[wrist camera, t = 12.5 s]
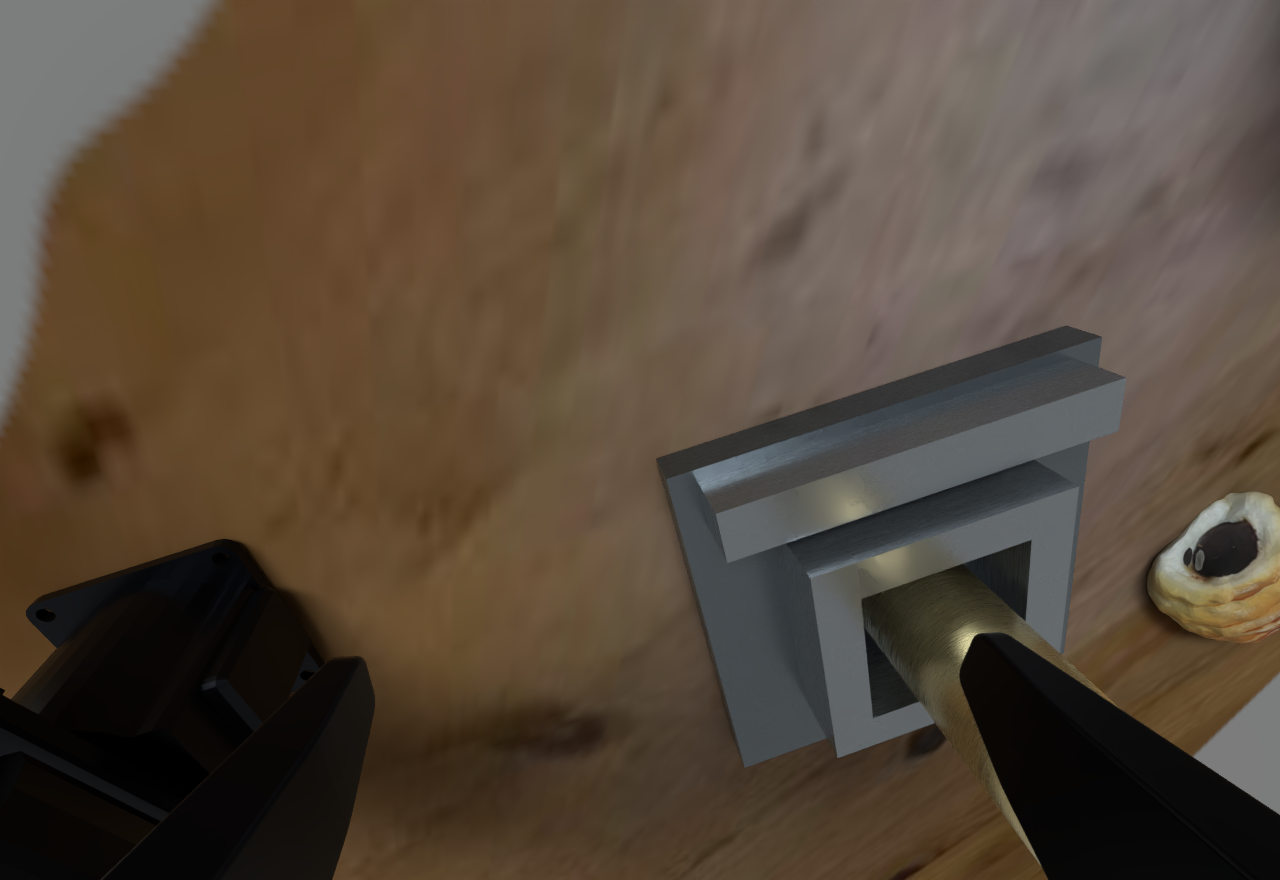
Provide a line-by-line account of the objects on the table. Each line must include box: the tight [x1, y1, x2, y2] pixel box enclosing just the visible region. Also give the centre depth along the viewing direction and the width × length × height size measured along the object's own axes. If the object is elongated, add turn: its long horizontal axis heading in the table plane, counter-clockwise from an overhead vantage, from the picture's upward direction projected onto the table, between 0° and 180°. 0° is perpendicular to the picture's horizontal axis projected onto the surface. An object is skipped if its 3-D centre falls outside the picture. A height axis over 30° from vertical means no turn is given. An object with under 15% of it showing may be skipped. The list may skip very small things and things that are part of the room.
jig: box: [657, 326, 1126, 768], centre depth 24 cm, size 16×16×4 cm
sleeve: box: [861, 564, 1119, 867], centre depth 18 cm, size 4×4×13 cm
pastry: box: [1147, 492, 1280, 644], centre depth 29 cm, size 9×7×4 cm
